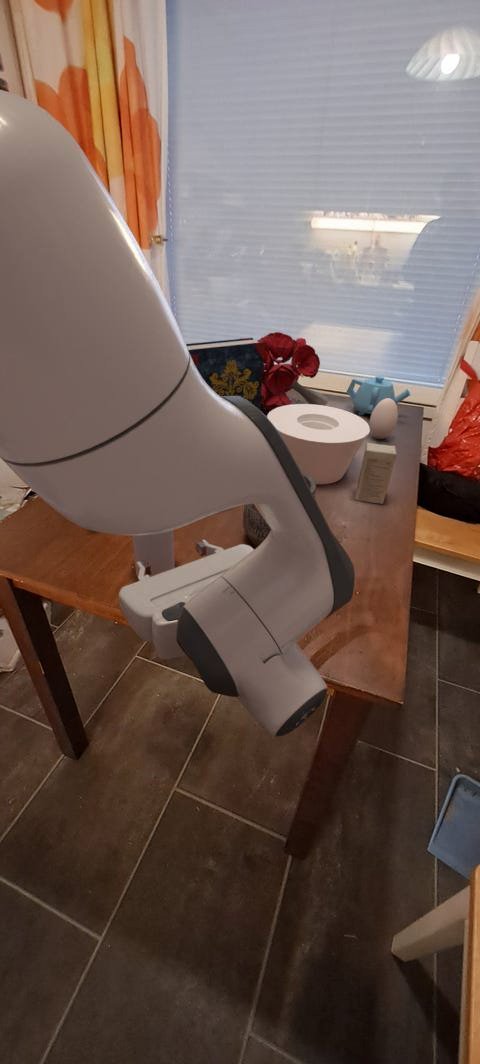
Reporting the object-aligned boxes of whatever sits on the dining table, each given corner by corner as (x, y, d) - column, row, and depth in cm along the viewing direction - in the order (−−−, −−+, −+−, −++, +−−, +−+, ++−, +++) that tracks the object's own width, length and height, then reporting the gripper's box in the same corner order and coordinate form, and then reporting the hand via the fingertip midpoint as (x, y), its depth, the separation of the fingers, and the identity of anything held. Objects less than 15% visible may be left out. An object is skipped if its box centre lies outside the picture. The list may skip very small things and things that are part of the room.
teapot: (339, 415, 137) (346, 378, 130) (347, 400, 150) (354, 366, 143) (402, 427, 132) (413, 389, 125) (404, 410, 145) (415, 375, 138)
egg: (382, 445, 119) (393, 404, 112) (360, 436, 123) (370, 397, 117) (396, 439, 123) (408, 400, 117) (374, 431, 128) (384, 392, 121)
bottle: (141, 588, 67) (132, 503, 58) (132, 564, 72) (122, 481, 62) (179, 579, 69) (176, 496, 60) (168, 555, 74) (164, 475, 65)
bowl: (378, 475, 104) (391, 429, 97) (309, 502, 92) (319, 451, 85) (309, 440, 119) (316, 398, 112) (243, 459, 107) (246, 413, 100)
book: (181, 454, 107) (179, 351, 92) (168, 444, 111) (164, 344, 97) (259, 435, 120) (267, 342, 105) (244, 427, 124) (250, 336, 109)
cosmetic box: (382, 495, 96) (397, 445, 89) (383, 505, 93) (398, 454, 85) (354, 490, 97) (366, 441, 90) (353, 499, 94) (366, 449, 86)
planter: (266, 515, 86) (273, 458, 79) (317, 539, 81) (329, 481, 73) (228, 540, 79) (231, 480, 71) (281, 570, 73) (290, 508, 65)
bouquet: (297, 416, 153) (228, 371, 142) (341, 361, 140) (269, 306, 130) (305, 445, 136) (227, 396, 126) (355, 385, 124) (273, 324, 113)
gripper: (288, 568, 55) (231, 516, 64) (143, 629, 46) (100, 559, 55) (283, 602, 59) (229, 549, 68) (147, 665, 49) (106, 594, 58)
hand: (171, 553), depth 61 cm, fingers open, 8 cm apart
